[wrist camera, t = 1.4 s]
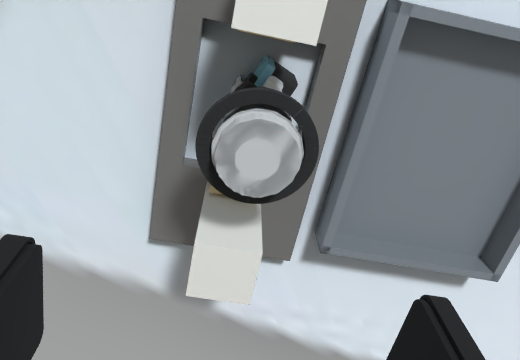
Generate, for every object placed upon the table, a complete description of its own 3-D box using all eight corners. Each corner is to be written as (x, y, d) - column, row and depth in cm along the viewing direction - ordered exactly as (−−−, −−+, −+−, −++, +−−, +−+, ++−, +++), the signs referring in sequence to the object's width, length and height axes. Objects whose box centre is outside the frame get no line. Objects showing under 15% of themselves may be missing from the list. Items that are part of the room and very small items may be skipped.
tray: (595, 46, 26) (628, 54, 24) (481, 260, 33) (497, 281, 31) (388, -2, 24) (402, 1, 22) (315, 232, 31) (319, 252, 29)
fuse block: (380, -68, 23) (441, -83, 16) (288, 251, 32) (299, 336, 25) (192, -115, 22) (163, -154, 15) (152, 229, 31) (122, 311, 24)
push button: (254, 164, 29) (255, 255, 20) (185, 121, 28) (153, 197, 19) (316, 83, 27) (349, 144, 18) (244, 31, 25) (239, 69, 16)
